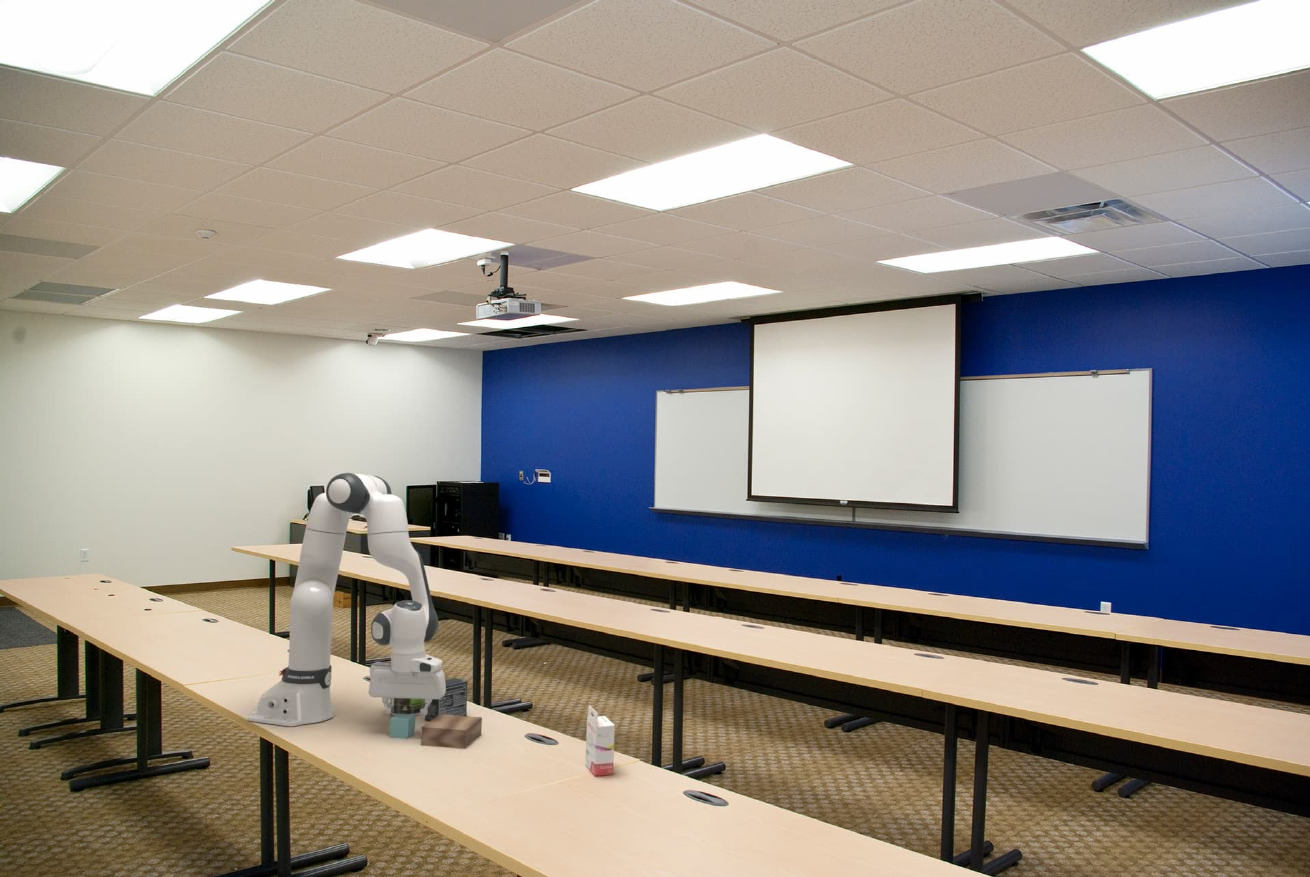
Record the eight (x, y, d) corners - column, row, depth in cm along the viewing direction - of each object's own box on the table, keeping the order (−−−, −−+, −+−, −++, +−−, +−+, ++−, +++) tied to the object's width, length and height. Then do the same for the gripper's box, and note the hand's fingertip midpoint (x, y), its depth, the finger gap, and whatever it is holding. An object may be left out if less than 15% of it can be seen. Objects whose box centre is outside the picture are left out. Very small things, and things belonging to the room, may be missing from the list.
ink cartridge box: (614, 774, 204) (616, 712, 204) (594, 776, 202) (596, 714, 203) (603, 763, 212) (605, 703, 212) (584, 764, 210) (586, 704, 211)
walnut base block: (420, 746, 221) (421, 726, 221) (439, 732, 233) (439, 714, 233) (465, 750, 219) (465, 730, 219) (481, 736, 231) (481, 717, 231)
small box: (453, 712, 251) (455, 676, 251) (467, 717, 247) (469, 680, 247) (423, 720, 242) (424, 682, 243) (437, 725, 238) (438, 687, 239)
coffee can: (432, 711, 251) (434, 663, 251) (403, 719, 243) (405, 669, 243) (410, 705, 257) (412, 658, 258) (381, 712, 249) (383, 663, 249)
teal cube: (389, 737, 226) (390, 718, 226) (396, 732, 231) (397, 713, 231) (407, 739, 225) (408, 720, 226) (414, 733, 230) (415, 714, 231)
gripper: (365, 664, 227) (364, 716, 227) (440, 666, 226) (439, 719, 225) (375, 658, 233) (373, 709, 233) (448, 661, 232) (447, 712, 232)
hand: (406, 714), depth 229 cm, fingers open, 8 cm apart
